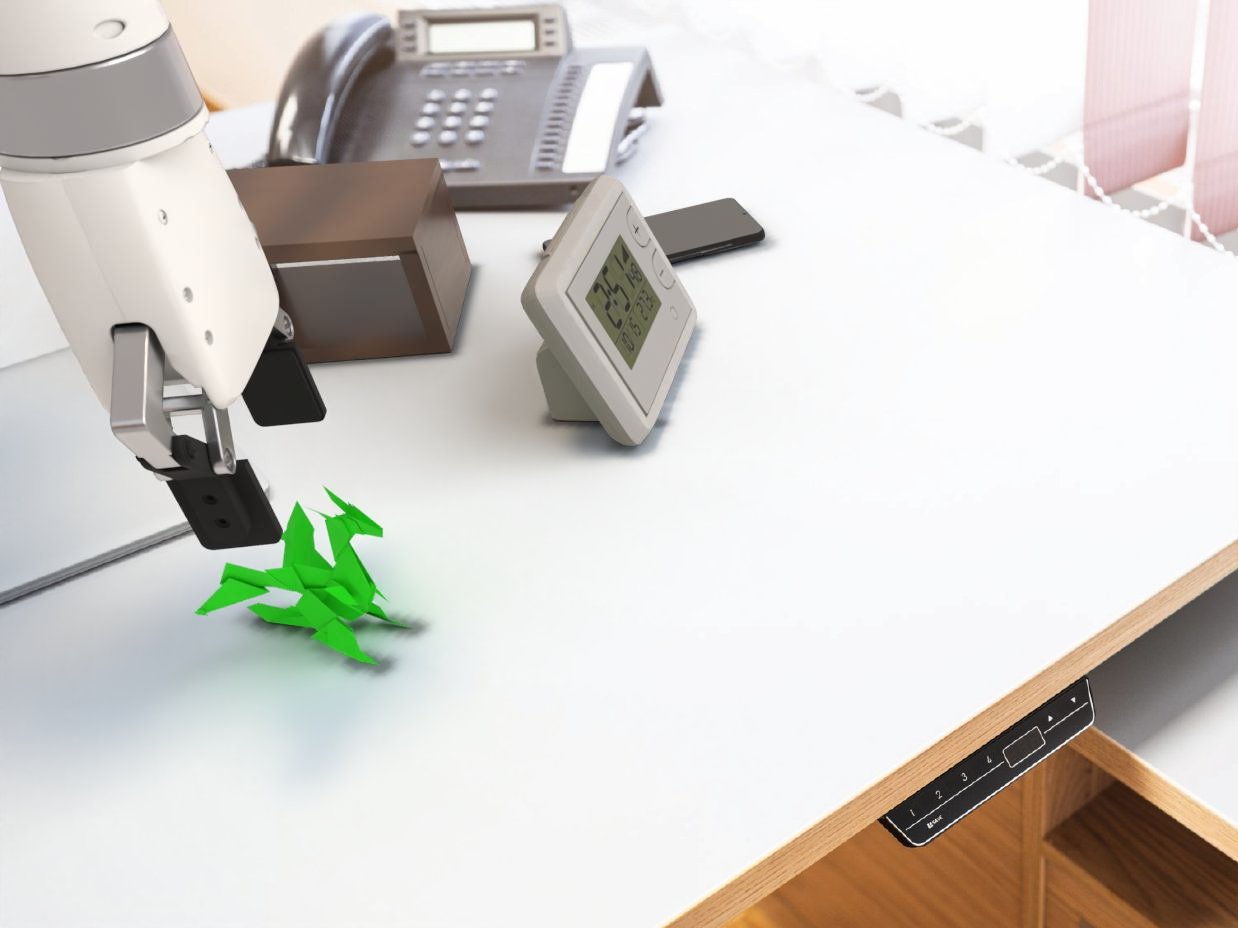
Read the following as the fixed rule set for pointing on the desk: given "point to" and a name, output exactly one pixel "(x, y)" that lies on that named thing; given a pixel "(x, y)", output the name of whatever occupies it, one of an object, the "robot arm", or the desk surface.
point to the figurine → (312, 580)
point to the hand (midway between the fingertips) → (270, 478)
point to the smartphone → (702, 229)
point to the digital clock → (608, 315)
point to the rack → (361, 255)
